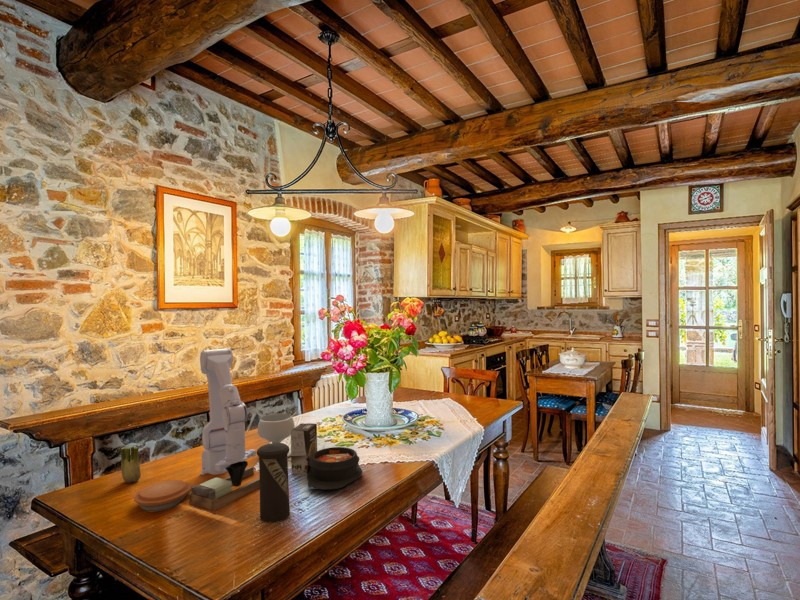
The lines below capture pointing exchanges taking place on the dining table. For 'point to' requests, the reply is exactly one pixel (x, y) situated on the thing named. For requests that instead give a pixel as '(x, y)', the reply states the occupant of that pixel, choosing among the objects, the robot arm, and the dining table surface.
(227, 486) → the pale green block
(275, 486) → the container
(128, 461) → the fennel bulb
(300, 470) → the coffee box
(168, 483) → the pie
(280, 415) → the chalice
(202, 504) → the bay
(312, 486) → the casserole
